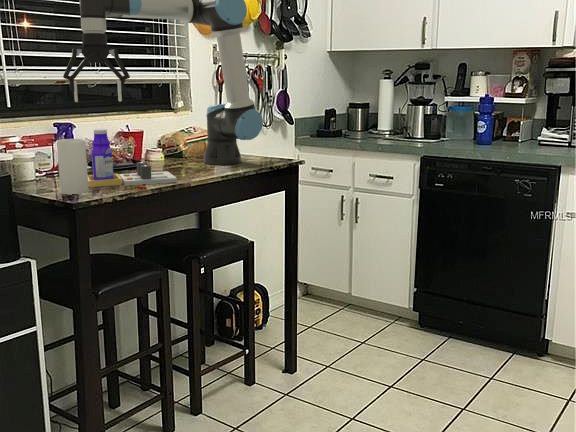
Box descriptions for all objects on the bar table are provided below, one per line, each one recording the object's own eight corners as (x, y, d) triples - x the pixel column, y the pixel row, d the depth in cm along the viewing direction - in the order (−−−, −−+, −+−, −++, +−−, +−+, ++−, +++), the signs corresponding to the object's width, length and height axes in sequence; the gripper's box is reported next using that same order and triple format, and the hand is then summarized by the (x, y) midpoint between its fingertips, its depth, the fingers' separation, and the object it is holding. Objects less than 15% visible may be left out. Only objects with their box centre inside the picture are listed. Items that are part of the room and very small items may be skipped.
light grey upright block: (93, 192, 193) (90, 140, 190) (69, 196, 187) (65, 142, 184) (79, 188, 199) (76, 138, 195) (55, 192, 193) (51, 140, 189)
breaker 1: (145, 173, 217) (145, 161, 216) (147, 174, 214) (146, 162, 213) (137, 173, 216) (136, 162, 215) (138, 175, 213) (138, 163, 212)
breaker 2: (149, 176, 210) (149, 164, 209) (151, 178, 208) (150, 166, 207) (140, 177, 209) (140, 165, 208) (142, 178, 207) (141, 166, 206)
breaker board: (168, 175, 222) (167, 169, 222) (176, 182, 210) (176, 176, 209) (119, 178, 216) (118, 172, 216) (125, 185, 203) (124, 179, 203)
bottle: (106, 184, 203) (103, 130, 199) (90, 183, 204) (86, 130, 200) (116, 180, 210) (113, 128, 206) (101, 179, 211) (97, 127, 207)
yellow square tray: (117, 179, 214) (117, 173, 214) (122, 184, 205) (121, 178, 204) (85, 181, 210) (85, 175, 210) (88, 187, 201) (88, 180, 200)
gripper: (132, 34, 204) (135, 100, 209) (51, 32, 195) (56, 101, 200) (136, 33, 197) (139, 101, 202) (52, 31, 188) (58, 102, 193)
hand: (98, 101), depth 201 cm, fingers open, 13 cm apart
